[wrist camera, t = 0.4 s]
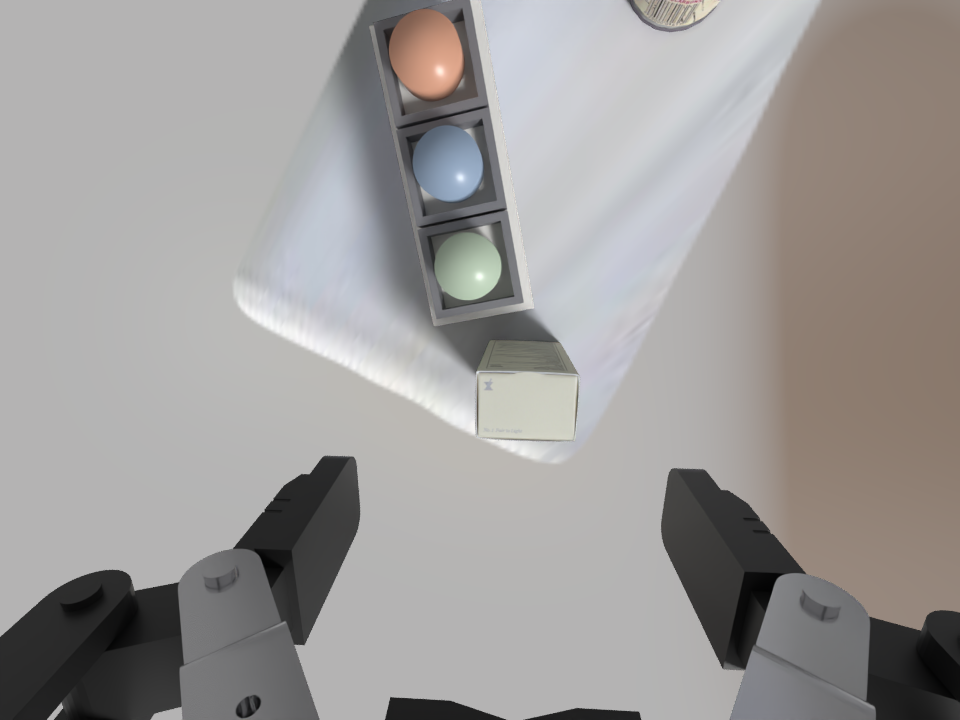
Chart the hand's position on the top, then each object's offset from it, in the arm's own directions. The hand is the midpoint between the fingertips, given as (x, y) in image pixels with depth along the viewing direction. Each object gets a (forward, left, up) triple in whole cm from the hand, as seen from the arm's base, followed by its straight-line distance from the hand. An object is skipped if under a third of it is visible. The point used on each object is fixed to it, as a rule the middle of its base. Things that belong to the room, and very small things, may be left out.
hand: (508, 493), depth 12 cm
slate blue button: (-10, -7, -19) cm, 23 cm away
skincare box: (+2, +1, -28) cm, 28 cm away
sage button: (-5, -4, -19) cm, 20 cm away
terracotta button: (-15, -10, -19) cm, 26 cm away
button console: (-10, -7, -28) cm, 30 cm away
